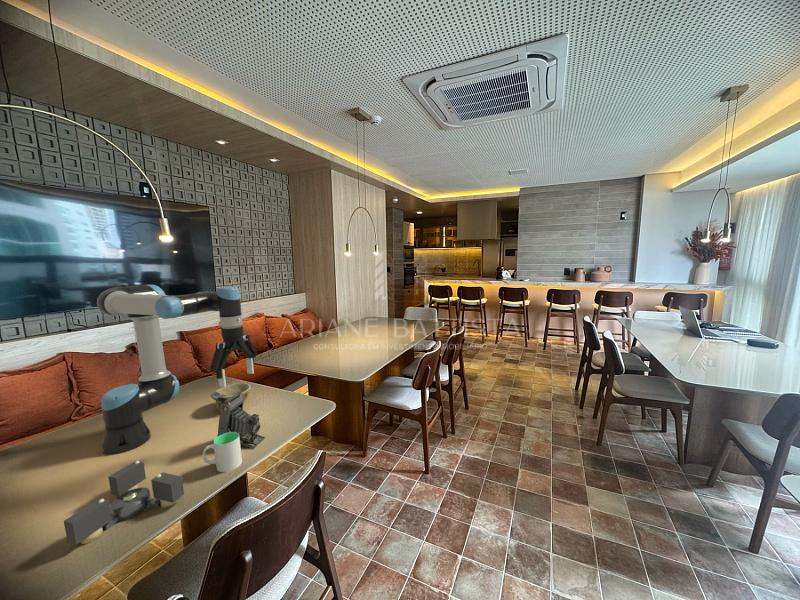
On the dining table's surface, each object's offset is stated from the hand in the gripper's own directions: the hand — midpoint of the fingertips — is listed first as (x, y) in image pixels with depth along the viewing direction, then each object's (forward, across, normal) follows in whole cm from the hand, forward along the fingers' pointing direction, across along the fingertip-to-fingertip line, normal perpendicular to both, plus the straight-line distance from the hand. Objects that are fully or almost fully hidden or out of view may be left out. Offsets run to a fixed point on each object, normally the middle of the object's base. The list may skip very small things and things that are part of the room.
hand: (237, 379), depth 123 cm
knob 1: (+27, -47, +6) cm, 54 cm away
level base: (+27, -38, +6) cm, 47 cm away
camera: (+28, +2, +2) cm, 28 cm away
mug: (+28, -13, -4) cm, 31 cm away
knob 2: (+27, -31, -2) cm, 42 cm away
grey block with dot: (+27, -32, +15) cm, 45 cm away
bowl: (+28, +24, +32) cm, 49 cm away
